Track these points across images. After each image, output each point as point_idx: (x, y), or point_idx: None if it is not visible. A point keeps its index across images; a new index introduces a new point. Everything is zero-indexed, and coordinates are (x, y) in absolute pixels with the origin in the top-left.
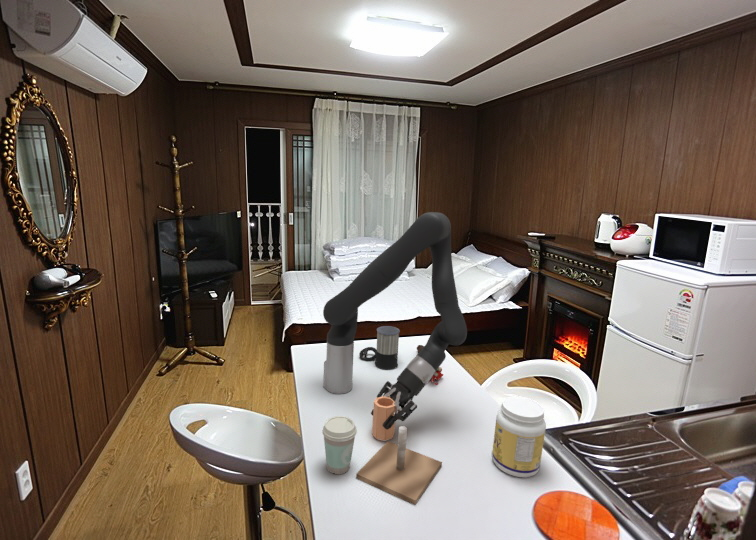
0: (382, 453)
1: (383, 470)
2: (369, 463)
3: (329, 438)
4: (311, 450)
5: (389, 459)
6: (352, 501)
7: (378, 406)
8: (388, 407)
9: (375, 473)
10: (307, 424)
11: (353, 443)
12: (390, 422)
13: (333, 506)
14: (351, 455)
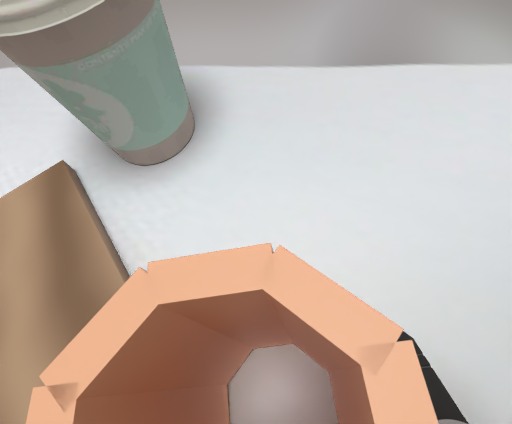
0: (99, 301)
1: (8, 259)
2: (77, 219)
3: None
4: (276, 71)
5: (42, 317)
6: (5, 141)
7: (147, 270)
8: (30, 420)
9: (18, 223)
10: (464, 69)
11: (34, 79)
12: None
13: (26, 98)
14: (84, 124)
